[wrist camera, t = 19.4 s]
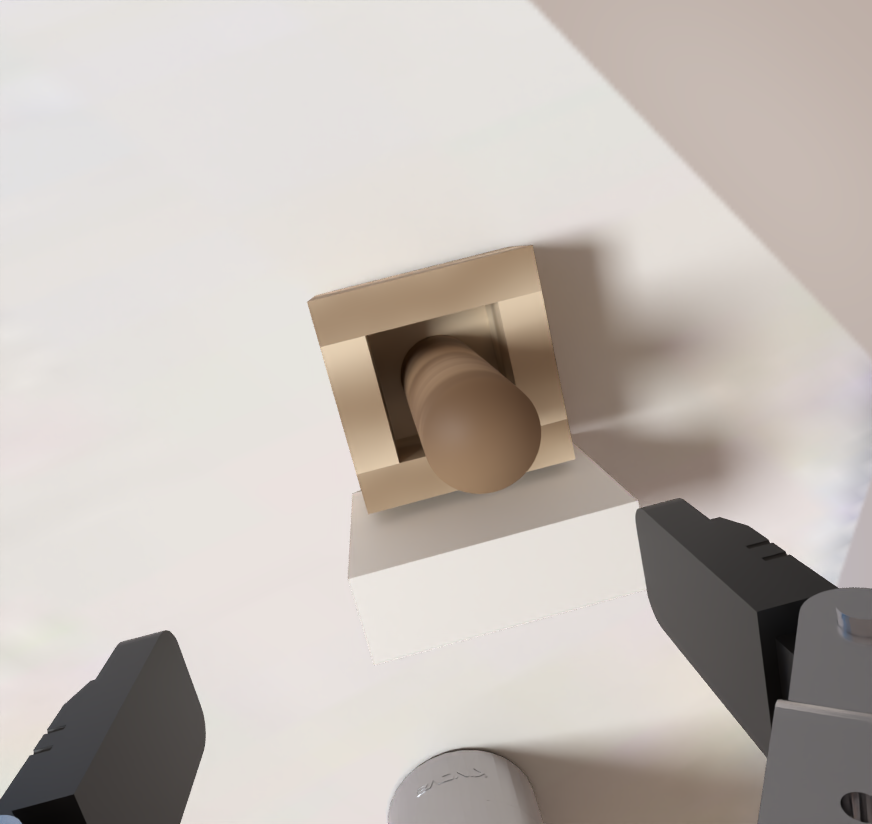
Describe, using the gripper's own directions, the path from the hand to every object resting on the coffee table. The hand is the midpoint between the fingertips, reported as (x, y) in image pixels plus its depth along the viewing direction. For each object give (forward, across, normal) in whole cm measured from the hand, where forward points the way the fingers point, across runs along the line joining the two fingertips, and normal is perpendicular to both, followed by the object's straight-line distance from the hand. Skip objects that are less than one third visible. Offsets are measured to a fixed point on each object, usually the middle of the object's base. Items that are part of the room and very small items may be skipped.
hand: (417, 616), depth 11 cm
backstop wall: (+24, -3, +8) cm, 26 cm away
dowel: (+23, -3, 0) cm, 23 cm away
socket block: (+24, -3, 0) cm, 24 cm away
